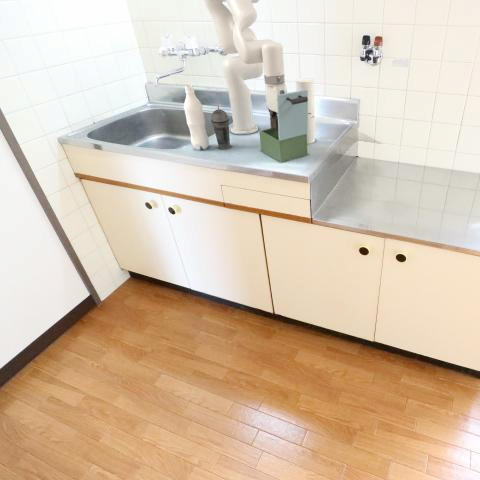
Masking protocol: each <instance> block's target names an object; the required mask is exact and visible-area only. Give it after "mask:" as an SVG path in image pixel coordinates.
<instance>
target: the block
mask: <svg viewBox="0 0 480 480" xmlns="http://www.w3.org/2000/svg"><path fill="white" fill-rule="evenodd" d="M269 117H270V116H269ZM269 122H270V128H271V129H273V130H275V131H278V115H277V116H274V117H270V118H269Z"/></svg>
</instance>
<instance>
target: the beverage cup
mask: <svg viewBox="0 0 480 480" xmlns="http://www.w3.org/2000/svg"><path fill="white" fill-rule="evenodd" d="M215 100H216V106H217V109H215V110H214V111H213V112H211V115H210V122H211V125H212V126H213V131H214V134H215V138H216V142H217V145H218V148H219V150H227V149H230V148H231V139H230V126H229V125H230V118H229V114H228V113H227V112H226V111H225V110H223V109H220V105H219V99H218V98H216V99H215Z"/></svg>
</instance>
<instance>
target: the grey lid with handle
mask: <svg viewBox="0 0 480 480" xmlns="http://www.w3.org/2000/svg"><path fill="white" fill-rule="evenodd" d="M277 109H278V115H277V116H278V133H279V140H280V141H281V140H284V139H288V138H292V137H296V136H300V135H304V134H307V124H308V90H302V91H297V92H296V91H291V92H287V93H286V94H281V95H277Z"/></svg>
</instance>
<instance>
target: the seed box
mask: <svg viewBox="0 0 480 480" xmlns="http://www.w3.org/2000/svg"><path fill="white" fill-rule="evenodd" d="M258 134H259V141H260V151H261V152H263V153H264V154H266V155H268V156H270V157H271V158H273V159H274V160H276V161H278V162H280V163H283V162H287V161H290V160H294V159H297V158H301V157H305V156H307V155H308V153H309V152H308V144H307V134H304V135H300V136H296V137H292V138H288V139H284V140H281V141H280V140H279V133H278V131H275V130H273V129H271V127H270V128H266V129H261V130H258Z"/></svg>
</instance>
